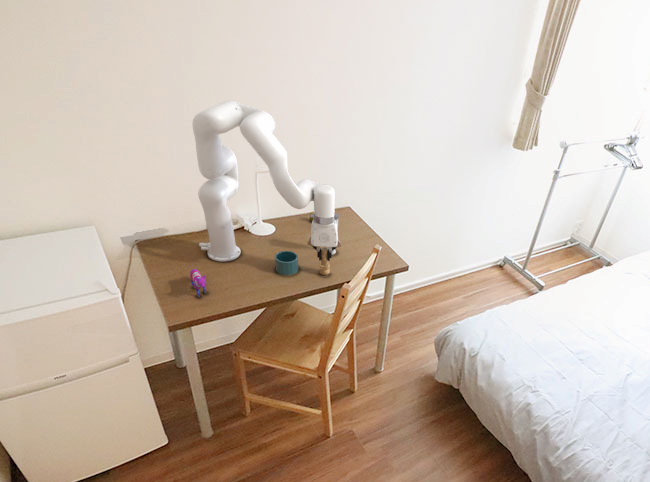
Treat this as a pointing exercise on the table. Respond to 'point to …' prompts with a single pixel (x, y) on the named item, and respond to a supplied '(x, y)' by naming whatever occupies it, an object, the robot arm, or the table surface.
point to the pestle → (324, 262)
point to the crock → (286, 262)
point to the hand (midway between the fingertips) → (324, 258)
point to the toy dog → (197, 280)
